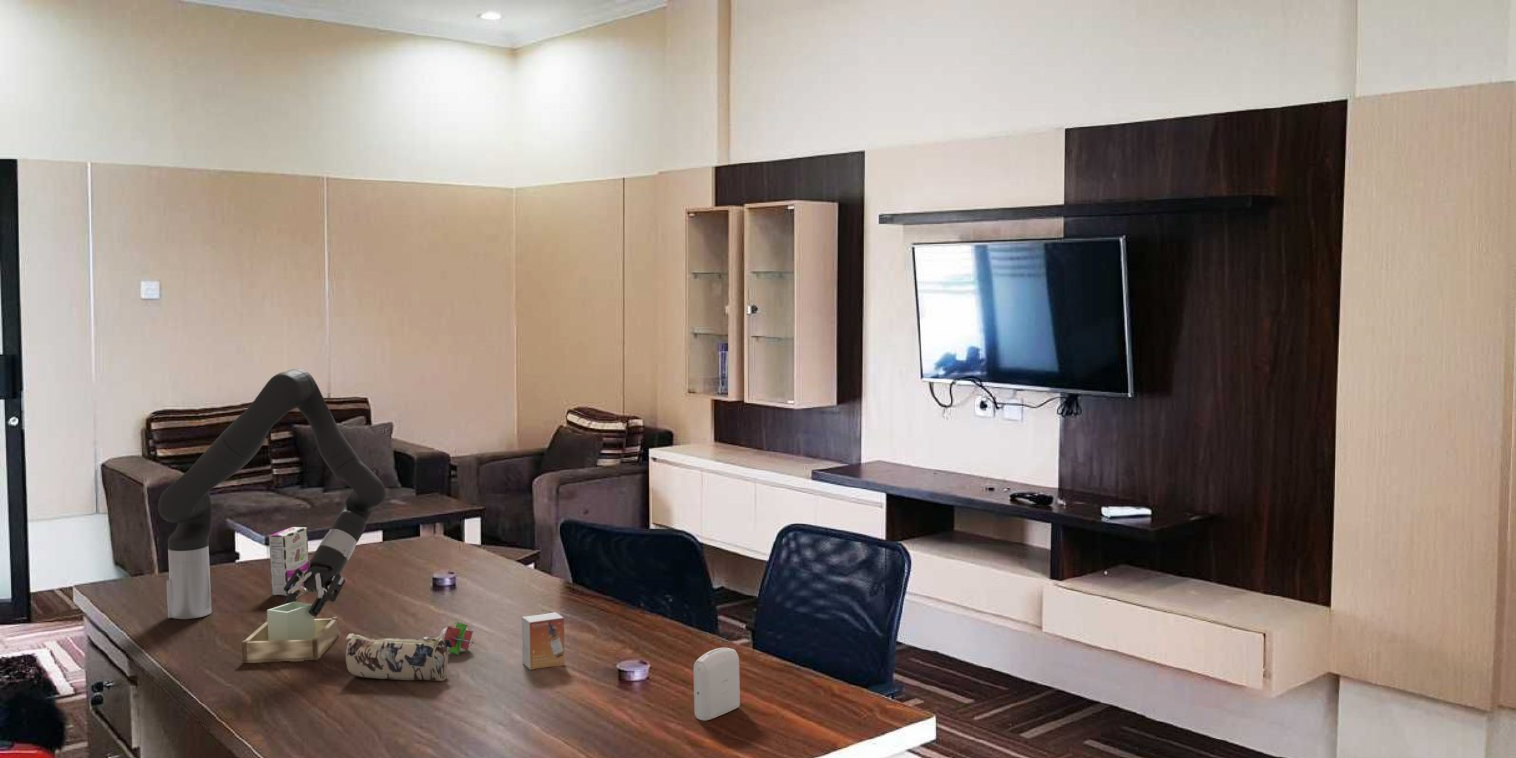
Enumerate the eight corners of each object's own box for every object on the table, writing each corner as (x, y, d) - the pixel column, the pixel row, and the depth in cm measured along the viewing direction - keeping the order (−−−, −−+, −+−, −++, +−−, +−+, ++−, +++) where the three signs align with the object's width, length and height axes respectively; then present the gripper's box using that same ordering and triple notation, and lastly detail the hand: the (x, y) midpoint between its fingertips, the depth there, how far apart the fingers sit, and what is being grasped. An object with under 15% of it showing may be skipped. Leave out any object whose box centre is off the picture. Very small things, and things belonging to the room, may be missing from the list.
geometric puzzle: (470, 634, 285) (450, 611, 281) (486, 640, 280) (467, 617, 276) (448, 658, 281) (428, 635, 277) (465, 665, 276) (444, 641, 272)
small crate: (268, 649, 279) (267, 609, 279) (295, 639, 287) (294, 601, 286) (288, 652, 277) (286, 612, 276) (315, 642, 284) (313, 604, 283)
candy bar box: (294, 585, 341) (291, 526, 340) (310, 586, 340) (308, 526, 339) (270, 595, 330) (267, 534, 329) (287, 596, 329) (284, 535, 328)
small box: (529, 670, 265) (528, 622, 264) (522, 663, 270) (520, 616, 269) (565, 665, 269) (564, 617, 268) (557, 658, 274) (556, 611, 273)
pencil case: (454, 674, 264) (453, 629, 263) (437, 687, 255) (436, 640, 254) (358, 669, 267) (357, 625, 266) (339, 682, 259) (337, 636, 258)
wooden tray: (242, 663, 272) (241, 641, 272) (268, 639, 290) (267, 619, 290) (317, 660, 273) (316, 639, 273) (338, 637, 291) (337, 616, 291)
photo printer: (707, 722, 233) (706, 658, 232) (690, 717, 236) (689, 654, 235) (743, 708, 241) (742, 645, 240) (726, 703, 244) (726, 641, 243)
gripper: (302, 541, 293) (265, 600, 284) (347, 546, 287) (312, 607, 277) (320, 559, 298) (284, 617, 289) (365, 564, 292) (330, 624, 283)
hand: (298, 612), depth 283 cm, fingers open, 8 cm apart
